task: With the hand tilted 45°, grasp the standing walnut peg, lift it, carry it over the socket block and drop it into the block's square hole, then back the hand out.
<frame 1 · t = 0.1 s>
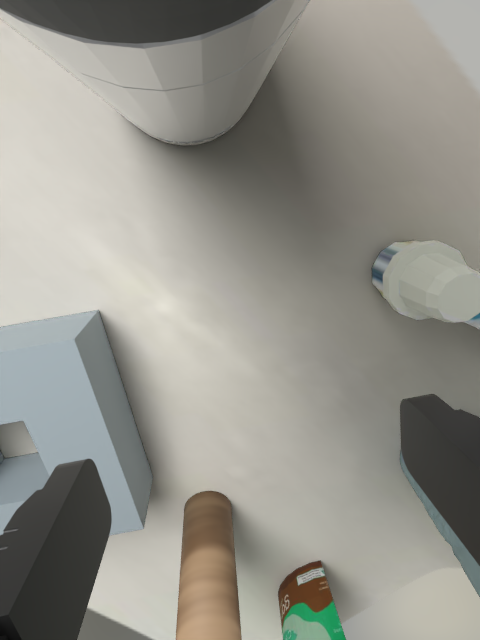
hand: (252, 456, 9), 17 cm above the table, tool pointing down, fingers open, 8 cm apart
peg: (207, 508, 33), on the table
food container: (294, 591, 39), on the table
teal plant pot: (444, 446, 33), on the table
socket block: (28, 420, 28), on the table
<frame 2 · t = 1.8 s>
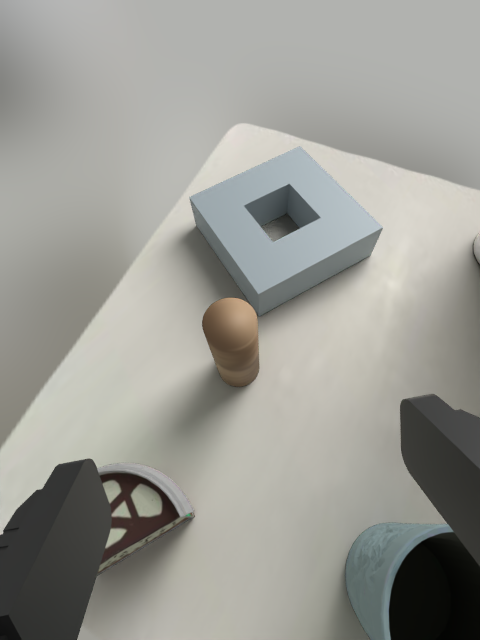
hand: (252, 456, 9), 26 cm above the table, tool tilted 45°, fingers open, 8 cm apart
peg: (238, 366, 38), on the table
food container: (135, 510, 32), on the table
teal plant pot: (400, 584, 29), on the table
socket block: (279, 239, 45), on the table
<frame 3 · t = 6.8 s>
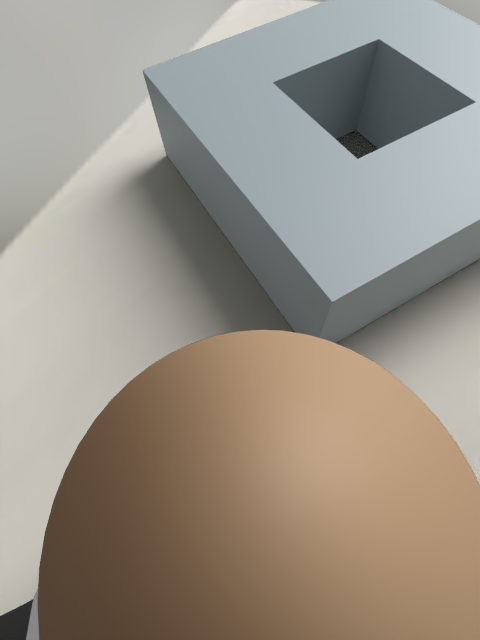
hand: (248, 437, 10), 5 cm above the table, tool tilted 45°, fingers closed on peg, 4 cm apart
peg: (263, 507, 13), on the table, touching gripper
socket block: (346, 179, 20), on the table
when the fingers open (7 cm above the table, at t = 12.7 s): peg drops 2 cm, resting in socket block.
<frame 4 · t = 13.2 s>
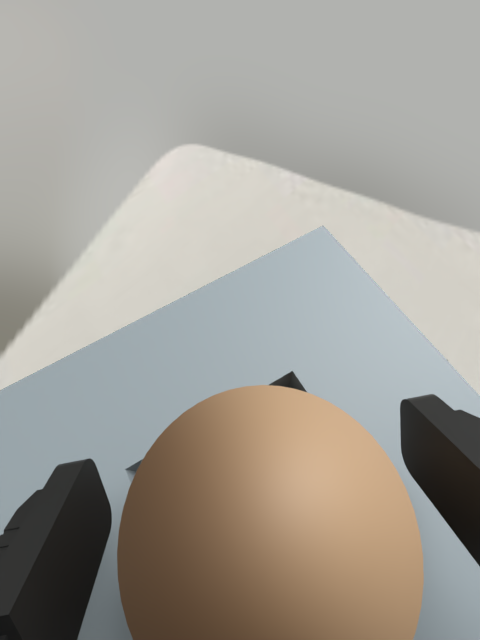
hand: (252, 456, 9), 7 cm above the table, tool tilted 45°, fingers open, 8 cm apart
peg: (263, 508, 15), resting in socket block
socket block: (262, 506, 15), on the table
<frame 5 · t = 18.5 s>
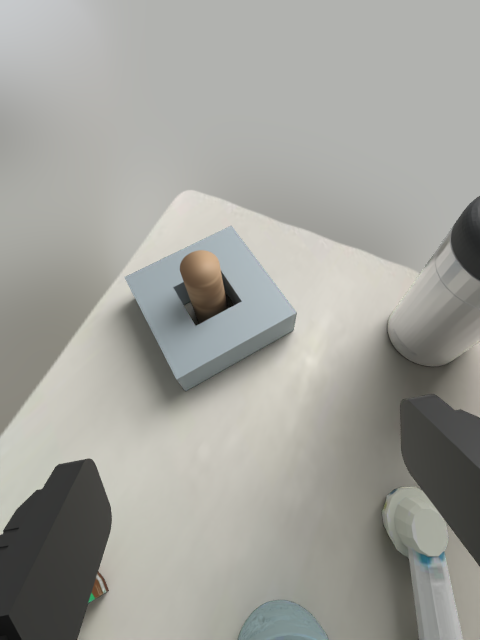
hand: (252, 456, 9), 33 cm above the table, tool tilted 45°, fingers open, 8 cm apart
peg: (212, 313, 48), resting in socket block
socket block: (212, 312, 48), on the table
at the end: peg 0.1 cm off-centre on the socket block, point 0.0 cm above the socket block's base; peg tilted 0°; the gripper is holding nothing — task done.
